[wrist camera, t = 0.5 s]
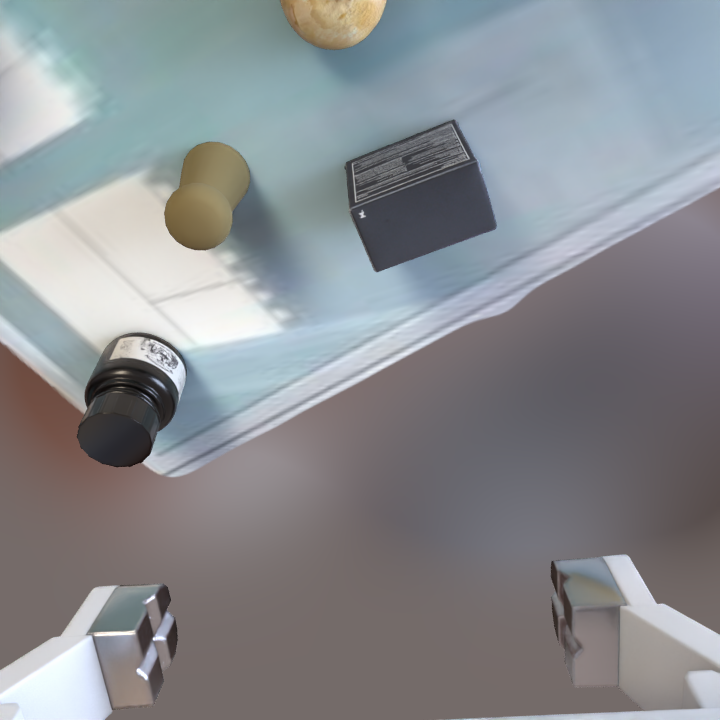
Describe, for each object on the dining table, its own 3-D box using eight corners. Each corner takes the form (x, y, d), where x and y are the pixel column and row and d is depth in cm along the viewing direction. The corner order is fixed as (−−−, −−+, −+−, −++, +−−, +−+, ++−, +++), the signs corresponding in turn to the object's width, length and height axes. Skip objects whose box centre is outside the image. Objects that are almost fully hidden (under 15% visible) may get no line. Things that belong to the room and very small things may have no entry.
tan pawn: (172, 188, 61) (143, 240, 52) (197, 129, 58) (171, 173, 49) (233, 218, 62) (216, 274, 53) (261, 162, 59) (247, 211, 50)
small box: (369, 225, 63) (374, 278, 55) (342, 161, 60) (343, 207, 51) (477, 184, 61) (500, 232, 53) (456, 116, 58) (477, 156, 49)
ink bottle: (207, 370, 72) (187, 445, 62) (155, 412, 75) (127, 491, 66) (134, 312, 68) (100, 384, 58) (82, 360, 71) (41, 435, 61)
